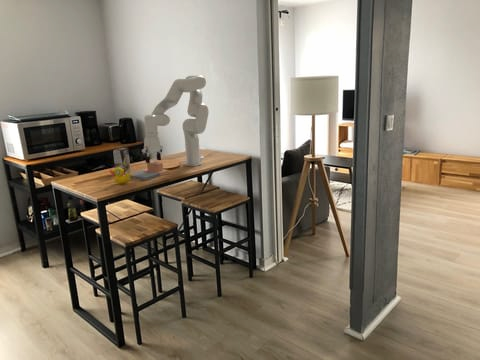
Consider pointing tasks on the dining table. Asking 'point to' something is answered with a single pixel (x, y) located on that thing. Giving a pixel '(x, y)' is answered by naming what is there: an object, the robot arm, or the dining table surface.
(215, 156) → the dining table surface
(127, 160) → the coffee box
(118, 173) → the duckling
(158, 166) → the stub
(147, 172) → the ticket board
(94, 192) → the dining table surface
